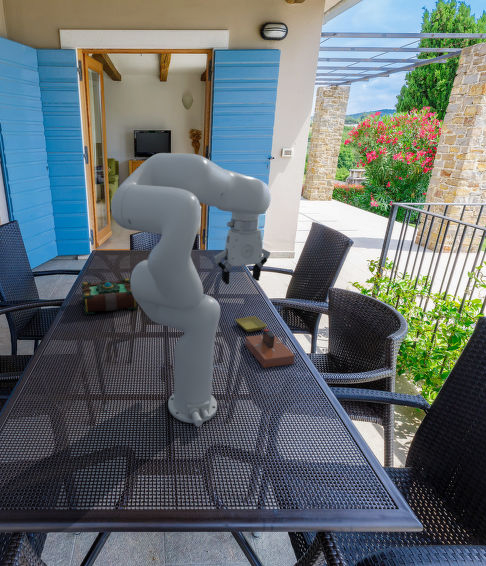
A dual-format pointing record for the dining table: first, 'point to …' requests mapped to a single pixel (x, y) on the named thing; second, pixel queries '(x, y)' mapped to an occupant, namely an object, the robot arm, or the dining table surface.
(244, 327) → the yellow square tray
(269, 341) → the black block red end
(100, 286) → the book
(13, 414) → the dining table surface
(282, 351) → the panel
